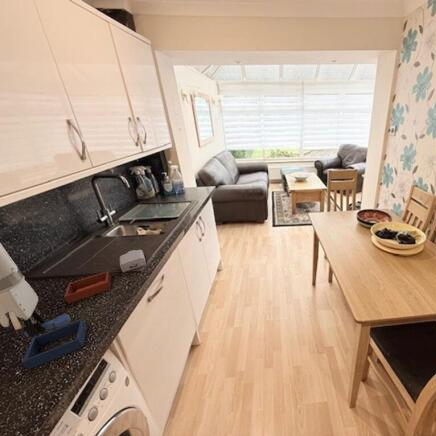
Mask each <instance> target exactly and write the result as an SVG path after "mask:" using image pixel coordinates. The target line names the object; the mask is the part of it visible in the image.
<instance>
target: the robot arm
mask: <svg viewBox="0 0 436 436" xmlns="http://www.w3.org/2000/svg"><path fill="white" fill-rule="evenodd" d="M38 302H39V297H38V295H37V293H36V292H35V290H34V289H33V288H32V286H31V285H30V284H29V283H28V282H27V280H26V278H25V275H24V274H23V273H22V271H21V270H20V269H19V267H18V265H17V264H16V263H15V261H14V260H13V259H12V257H11V256H10V254H9V253H8V252H7V250H6V249H5V247H4V246H3V244H2V243H1V242H0V325H1V326H2V327H4V328H8V327H10V326H11V324H12V326H13V328H14V330H15V331H19V330H22V329H23V330H24V332H25V331H26V332H27V334H28V335H29V338H33V337H36V336H39V335H41V334H44V333H46V330H45V329H44V327H43V326H42V325H41V324H42V323H45V322H47V321H46V320H45V318H44V317H43V316H42V315H41V312H40V310H39V309H38V307H37V305H38Z"/></svg>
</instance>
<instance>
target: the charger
mask: <svg viewBox="0 0 436 436" xmlns="http://www.w3.org/2000/svg"><path fill="white" fill-rule="evenodd" d="M146 265H147V263H146V257H145V254H144V252H143V250H142V249H138V250H137V249H136V250H135V249H132V250H129V251H128V252H126V253H125V254H121V255H120V256H119V267H120V269H121V272H122V273H126V272H129V271H133V270H135V269H138V268H141V267H143V266H146Z"/></svg>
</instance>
